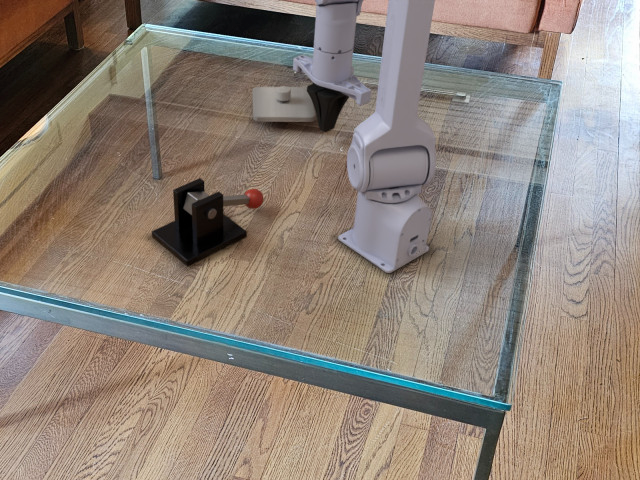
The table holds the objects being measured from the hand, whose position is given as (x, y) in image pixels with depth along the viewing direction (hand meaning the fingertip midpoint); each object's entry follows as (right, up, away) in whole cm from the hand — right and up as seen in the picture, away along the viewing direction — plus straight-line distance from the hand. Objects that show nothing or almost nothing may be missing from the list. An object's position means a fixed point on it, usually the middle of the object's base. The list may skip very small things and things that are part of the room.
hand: (326, 128), depth 129 cm
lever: (-16, -14, -16) cm, 27 cm away
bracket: (-19, -18, -17) cm, 31 cm away
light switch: (-6, +3, +8) cm, 11 cm away
